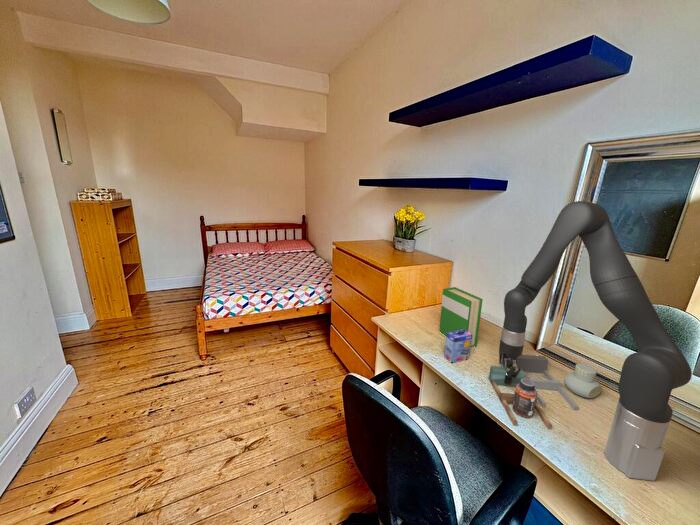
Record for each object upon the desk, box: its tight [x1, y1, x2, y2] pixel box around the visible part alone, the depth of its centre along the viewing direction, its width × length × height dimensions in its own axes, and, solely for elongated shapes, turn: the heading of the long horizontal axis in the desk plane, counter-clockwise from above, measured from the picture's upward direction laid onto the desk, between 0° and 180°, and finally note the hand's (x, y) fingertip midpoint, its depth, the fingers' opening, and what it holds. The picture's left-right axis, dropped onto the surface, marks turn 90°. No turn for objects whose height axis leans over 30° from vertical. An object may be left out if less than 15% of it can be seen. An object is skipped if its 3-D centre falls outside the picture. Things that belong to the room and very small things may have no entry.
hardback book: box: [439, 286, 484, 348], centre depth 136 cm, size 18×7×24 cm, turn 22°
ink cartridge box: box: [443, 329, 472, 363], centre depth 121 cm, size 10×6×14 cm, turn 111°
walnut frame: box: [487, 365, 553, 430], centre depth 97 cm, size 23×11×6 cm, turn 172°
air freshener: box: [563, 363, 603, 399], centre depth 102 cm, size 11×8×10 cm
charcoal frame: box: [517, 354, 579, 411], centre depth 105 cm, size 23×11×6 cm, turn 172°
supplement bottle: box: [512, 378, 538, 418], centre depth 92 cm, size 6×6×11 cm
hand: (505, 380), depth 107 cm, fingers closed on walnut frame, 3 cm apart
